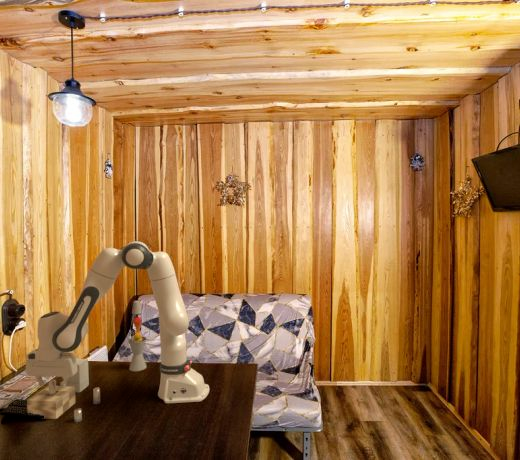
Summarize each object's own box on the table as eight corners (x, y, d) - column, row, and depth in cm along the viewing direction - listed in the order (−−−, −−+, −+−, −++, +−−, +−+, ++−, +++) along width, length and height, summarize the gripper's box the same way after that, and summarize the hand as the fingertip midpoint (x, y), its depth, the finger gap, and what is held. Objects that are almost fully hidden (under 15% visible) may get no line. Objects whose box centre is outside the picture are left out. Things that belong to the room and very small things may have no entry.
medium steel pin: (101, 401, 150) (101, 387, 150) (98, 404, 147) (97, 390, 147) (95, 400, 150) (95, 387, 150) (92, 404, 148) (91, 390, 147)
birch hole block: (75, 402, 149) (74, 386, 148) (56, 419, 137) (55, 401, 136) (48, 401, 150) (48, 385, 149) (27, 417, 138) (27, 400, 138)
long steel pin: (57, 408, 144) (57, 379, 144) (53, 411, 142) (53, 382, 141) (51, 408, 145) (51, 379, 144) (47, 411, 142) (47, 382, 141)
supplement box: (89, 385, 164) (88, 358, 164) (79, 392, 157) (79, 365, 157) (74, 384, 165) (73, 357, 165) (64, 392, 158) (63, 364, 157)
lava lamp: (128, 365, 186) (127, 300, 185) (146, 363, 189) (145, 298, 188) (128, 372, 177) (127, 303, 176) (147, 369, 181) (146, 302, 180)
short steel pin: (83, 418, 137) (83, 408, 137) (79, 422, 134) (79, 412, 134) (77, 418, 137) (76, 408, 137) (72, 422, 135) (72, 411, 134)
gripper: (80, 349, 145) (81, 382, 145) (33, 349, 147) (35, 381, 147) (70, 356, 138) (71, 390, 139) (22, 355, 140) (23, 388, 141)
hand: (52, 385), depth 143 cm, fingers open, 8 cm apart
